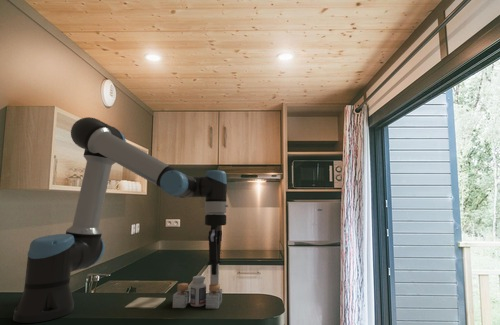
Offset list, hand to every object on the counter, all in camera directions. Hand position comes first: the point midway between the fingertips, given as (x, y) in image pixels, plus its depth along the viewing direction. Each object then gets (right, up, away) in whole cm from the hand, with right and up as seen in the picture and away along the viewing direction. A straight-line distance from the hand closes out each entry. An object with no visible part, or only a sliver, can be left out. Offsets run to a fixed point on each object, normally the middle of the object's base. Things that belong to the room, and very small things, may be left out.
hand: (214, 283), depth 97 cm
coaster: (-23, -7, 0) cm, 24 cm away
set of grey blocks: (-6, -7, -1) cm, 9 cm away
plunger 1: (-11, -5, 0) cm, 12 cm away
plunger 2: (0, -5, -1) cm, 5 cm away
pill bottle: (-6, -7, -1) cm, 9 cm away
